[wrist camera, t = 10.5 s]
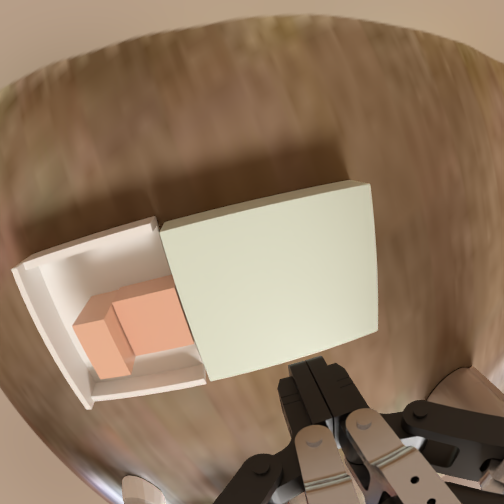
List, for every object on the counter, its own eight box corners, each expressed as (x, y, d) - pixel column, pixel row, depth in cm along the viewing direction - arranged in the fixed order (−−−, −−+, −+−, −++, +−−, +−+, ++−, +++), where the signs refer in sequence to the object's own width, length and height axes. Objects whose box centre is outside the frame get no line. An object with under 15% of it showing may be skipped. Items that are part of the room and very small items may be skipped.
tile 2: (103, 319, 17) (71, 325, 17) (131, 374, 18) (100, 379, 18) (119, 289, 21) (91, 296, 21) (140, 339, 22) (113, 344, 22)
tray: (155, 215, 21) (147, 226, 17) (204, 364, 25) (207, 392, 22) (32, 254, 19) (11, 269, 16) (94, 384, 24) (86, 409, 21)
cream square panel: (350, 179, 22) (370, 183, 19) (361, 314, 26) (377, 330, 23) (164, 222, 21) (159, 232, 18) (208, 358, 25) (210, 381, 22)
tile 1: (176, 273, 21) (174, 287, 19) (194, 325, 23) (194, 344, 21) (119, 287, 21) (111, 302, 19) (140, 337, 22) (135, 356, 20)
